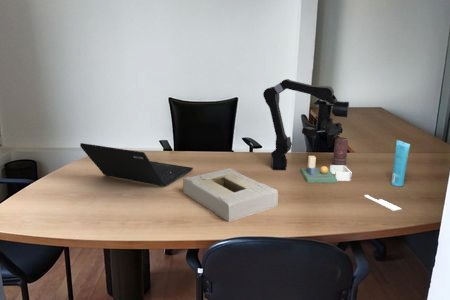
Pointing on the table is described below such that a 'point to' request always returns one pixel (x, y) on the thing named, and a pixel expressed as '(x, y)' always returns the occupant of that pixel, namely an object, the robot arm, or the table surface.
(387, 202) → the white plastic strip tool
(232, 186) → the box
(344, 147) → the can
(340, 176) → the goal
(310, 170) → the beige and blue block
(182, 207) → the table surface
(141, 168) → the laptop
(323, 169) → the ball
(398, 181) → the tube
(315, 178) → the panel
